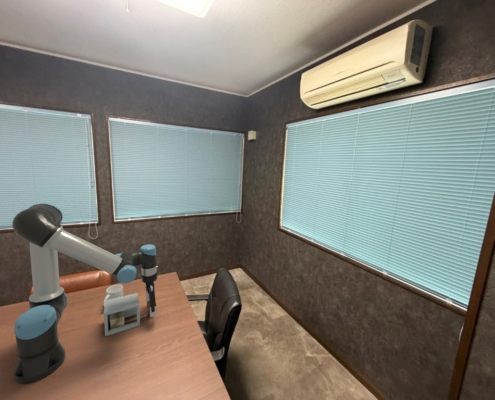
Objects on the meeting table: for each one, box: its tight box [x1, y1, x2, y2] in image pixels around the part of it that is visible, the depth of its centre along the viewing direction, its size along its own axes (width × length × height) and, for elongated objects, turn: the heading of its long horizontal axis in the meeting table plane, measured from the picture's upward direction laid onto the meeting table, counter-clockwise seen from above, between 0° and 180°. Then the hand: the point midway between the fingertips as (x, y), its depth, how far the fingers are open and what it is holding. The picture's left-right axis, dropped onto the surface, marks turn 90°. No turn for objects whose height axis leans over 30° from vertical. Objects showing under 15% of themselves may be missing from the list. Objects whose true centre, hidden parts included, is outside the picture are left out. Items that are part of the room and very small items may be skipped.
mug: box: [103, 284, 124, 307], centre depth 125 cm, size 12×8×10 cm
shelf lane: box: [103, 292, 141, 337], centre depth 112 cm, size 15×11×12 cm
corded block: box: [109, 301, 151, 330], centre depth 115 cm, size 20×6×8 cm, turn 122°
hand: (151, 308), depth 120 cm, fingers open, 13 cm apart
